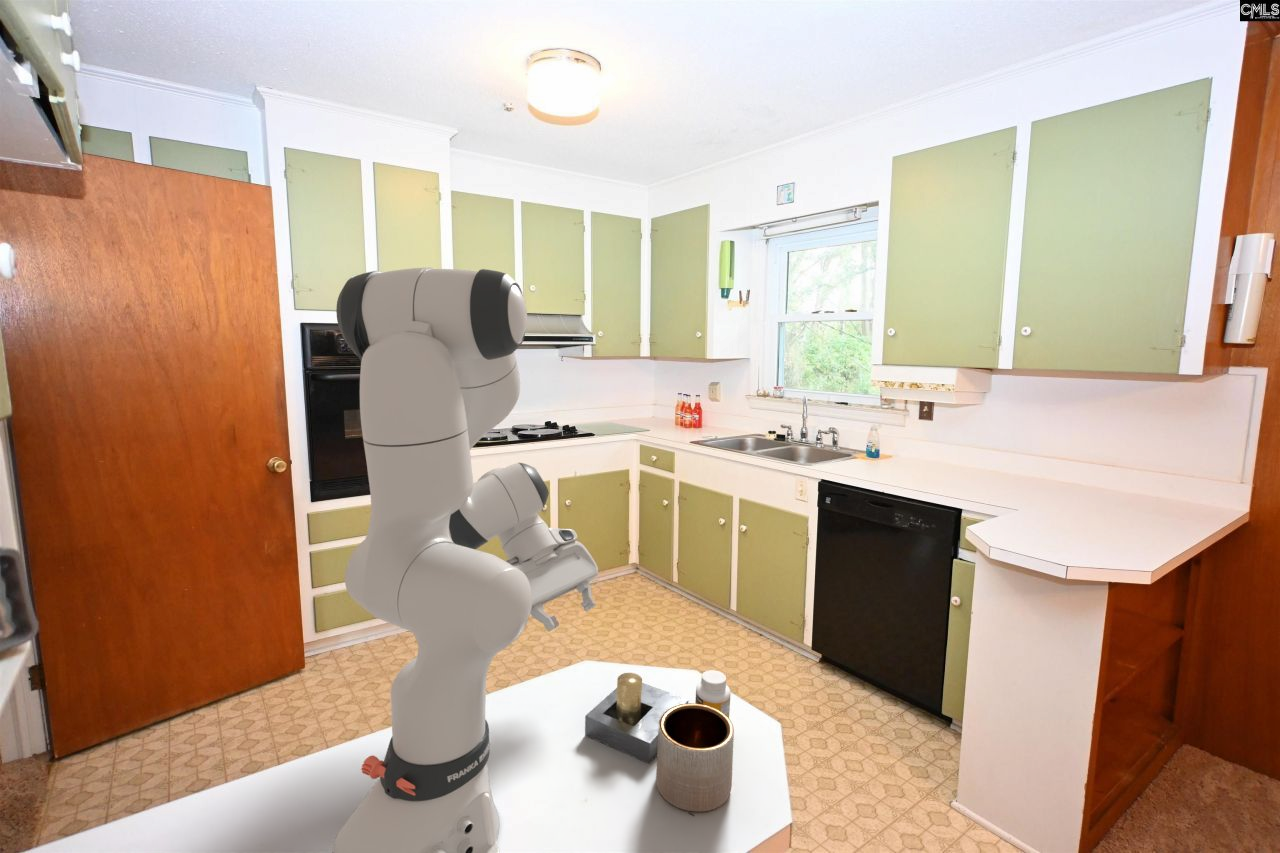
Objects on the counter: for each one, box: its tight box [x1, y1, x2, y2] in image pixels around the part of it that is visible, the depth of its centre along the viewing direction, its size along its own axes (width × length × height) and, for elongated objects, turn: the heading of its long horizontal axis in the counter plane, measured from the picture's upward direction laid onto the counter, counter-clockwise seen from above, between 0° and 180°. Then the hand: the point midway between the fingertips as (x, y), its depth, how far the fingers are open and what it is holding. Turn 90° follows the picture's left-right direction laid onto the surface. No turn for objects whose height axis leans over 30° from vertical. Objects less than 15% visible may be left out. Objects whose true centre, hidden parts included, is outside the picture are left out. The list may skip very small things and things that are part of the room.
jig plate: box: [584, 682, 689, 765], centre depth 99 cm, size 13×12×4 cm
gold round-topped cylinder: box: [616, 672, 643, 727], centre depth 98 cm, size 4×4×9 cm
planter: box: [655, 702, 735, 813], centre depth 86 cm, size 11×11×10 cm
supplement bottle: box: [694, 669, 731, 719], centre depth 97 cm, size 6×6×10 cm
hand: (573, 618), depth 103 cm, fingers open, 8 cm apart
